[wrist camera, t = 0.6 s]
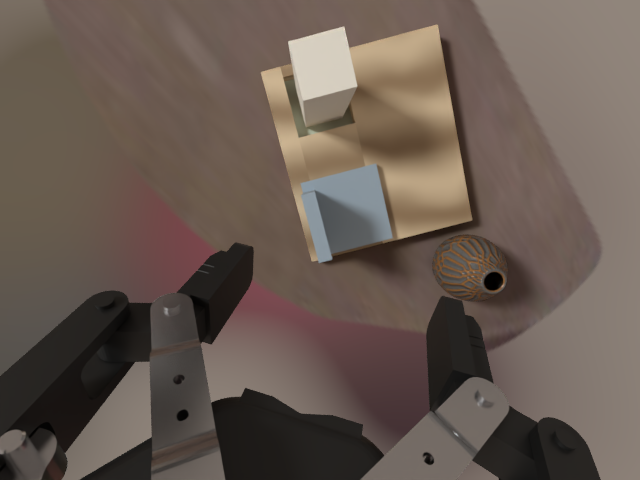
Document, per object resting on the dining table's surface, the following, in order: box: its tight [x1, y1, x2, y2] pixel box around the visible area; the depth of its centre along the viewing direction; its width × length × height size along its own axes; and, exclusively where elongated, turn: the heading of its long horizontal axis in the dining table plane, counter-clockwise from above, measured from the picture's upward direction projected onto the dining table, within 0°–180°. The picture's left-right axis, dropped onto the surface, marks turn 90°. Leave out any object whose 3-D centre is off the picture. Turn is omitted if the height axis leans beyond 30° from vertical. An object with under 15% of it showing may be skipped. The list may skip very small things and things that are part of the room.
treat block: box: [288, 27, 357, 128], centre depth 29 cm, size 4×4×12 cm
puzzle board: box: [261, 24, 472, 262], centre depth 36 cm, size 20×18×2 cm
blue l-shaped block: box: [300, 164, 393, 263], centre depth 32 cm, size 8×8×7 cm
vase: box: [432, 235, 508, 301], centre depth 35 cm, size 7×7×9 cm
